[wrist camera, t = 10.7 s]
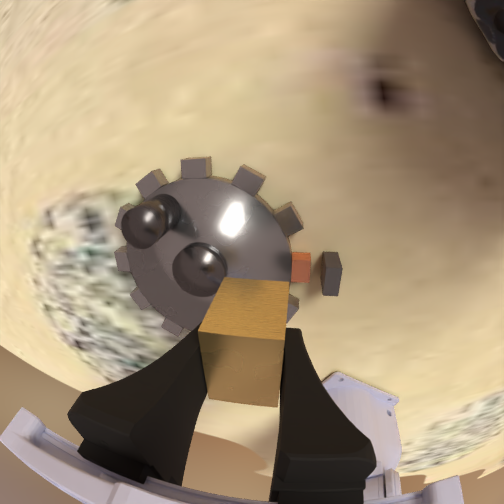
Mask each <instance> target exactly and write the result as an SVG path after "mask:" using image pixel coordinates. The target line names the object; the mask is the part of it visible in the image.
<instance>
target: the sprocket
mask: <svg viewBox="0 0 504 504" xmlns="http://www.w3.org/2000/svg"><path fill="white" fill-rule="evenodd" d="M181 171H182V179H178V180H176V181H174V182H172V183H169V182H168V180H167V179H166V177H165V176H164V174H163V172H162V171H161V169H157V170H154V171H151V172H150V173H149V174H148V175H146V176H145V177H144V178H143V179H141V180H140V181H139V182H138V183H136V184H135V185H136V186H137V188H138V189H139V191H140V193H141V194H142V196H143V197H144V199H145V198H146V199H145V200H144V201H143V203H141V204H139V205H137V206H134V205H132V204H130V203H128V204H126V205H124V206H122V207H120V210H119V213H118V217H117V220H116V223H115V226H116V227H117V228H119V229H121V230H122V233H123V235H124V237H125V239H126V240H127V246H122V247H120V248H119V249H118V250H116V251H115V252H114V253H115V258H116V262H117V267H118V271H128V272H131V273H132V275H133V278H134V280H135V282H136V284H137V286H138V287H136V288H135V289H134V290H133V291H132V293H131V294H130V295H131V297H132V298H133V299H134V301H135V302H136V303H137V304H138V306H139V307H140V308H141V310H142V309H144V308H146V307H148V306H150V305H152V306H153V307H154V308H155V309H156V310H157V311H158V312H159V313H161V314H162V315H163V316H165V317H166V318H165V320H164V322H163V325H162V328H164V329H166V330H168V331H169V332H171V333H173V334H175V335H176V336H179V334H180V332H181V331H182V329H183V328H186V329H189V330H191V331H192V330H193V329H194V328H195V327H197V326H198V325H199V324H200V323H201V322H202V321H203V319H204V317H205V315H206V313H207V311H208V309H209V307H210V305H211V303H212V301H213V299H214V297H215V295H216V293H217V291H218V289H219V287H220V285H221V283H222V281H223V279H224V277H229V278H242V279H256V280H269V281H284V282H289V285H290V281H291V282H305V283H309V280H310V266H311V256H310V253H298V252H291V246H290V241H289V238H288V236H290V235H292V234H294V233H296V232H298V231H300V230H302V229H304V228H303V221H302V220H301V218H300V216H299V214H298V212H297V211H296V209H295V207H294V205H293V204H292V202H289V203H287V204H285V205H283V206H281V207H279V208H277V209H276V210H275V211H274V210H273V209H272V208H271V206H270V205H269V204H268V203H267V202H266V201H265V200H264V199H263V198H261V197H260V196H259V195H258V194H257V192H258V191H259V189H260V187H261V185H262V184H263V182H264V180H265V178H266V176H264V175H262V174H261V173H259V172H257V171H255V170H253V169H252V168H250V167H248V166H246V165H242V166H240V168H239V170H238V172H237V174H236V176H235V177H234V179H233V181H232V180H229V179H226V178H222V177H217V176H211V175H212V164H211V157H196V158H186V159H182V160H181ZM168 183H169V184H168ZM291 272H292V274H291ZM298 309H299V299H298V298H296V297H294V296H292V295H290V294H289V295H288V308H287V320H286V324H287V323H288V321H289V320H290V319H291V318H292V316H293V315H294V314H295V313H296V312H297V310H298Z"/></svg>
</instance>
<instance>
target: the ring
mask: <svg viewBox="0 0 504 504" xmlns="http://www.w3.org/2000/svg"><path fill="white" fill-rule="evenodd" d="M464 1H465V3H466V5H467V7H468V9H469V11H470V14H471V15H472V17H473V19H474V20H475V22H476V23H477V25H478V27H479V28H480V30H481V32H482V33H483V35H484V37H485V38H486V40H487V42H488V44H489V45H490V47H491V49H492V50H493V52H494V53H495V54H496V55H497V57H498V58H499V59H500V60H501V61H503V62H504V0H464Z"/></svg>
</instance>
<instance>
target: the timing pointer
mask: <svg viewBox="0 0 504 504" xmlns="http://www.w3.org/2000/svg"><path fill="white" fill-rule="evenodd" d="M341 275H342V265H341V262H340V258H339V255H338V252H323V260H322V269H321V277H320V278H321V285H322V294H323V295H324V296H338V293H339V287H340V281H341Z"/></svg>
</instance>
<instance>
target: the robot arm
mask: <svg viewBox="0 0 504 504" xmlns="http://www.w3.org/2000/svg"><path fill="white" fill-rule="evenodd" d="M201 323H202V322H201ZM201 323H200V324H199V325H198V326H197V327H195V328H194V329H193V330H192V331H191V332H190V333H189V334H188V335H187V336H186V337H185V338H184V339H182V340H181V341H180V342H179V343H178V344H177V345H175V346H174V347H173V348H172V349H171V350H169V351H168V352H167V353H165V354H164V355H163V356H162V357H160V358H159V359H157V360H156V361H154V362H153V363H151V364H150V365H148V366H147V367H145V368H143V369H142V370H140V371H138V372H136V373H134V374H132V375H130V376H128V377H126V378H124V379H121V380H119V381H117V382H114V383H111V384H109V385H106V386H103V387H100V388H96V389H92V390H89V391H85V392H82V393H81V395H80V396H79V397H78V399H77V400H76V402H75V403H74V405H73V406H72V407H71V409H70V410H69V412H68V414H67V415H68V418H69V420H70V422H71V423H72V425H73V426H74V427H75V428H76V429H77V431H78V432H79V433H80V434H81V436H82V437H83V438H84V440H83V442H82V443H81V445H80V447H79V446H77V445H75V444H74V443H72V442H70V441H68V440H66V439H65V438H63V437H61V436H59V435H58V434H56V433H54V432H53V431H51V430H49V429H48V428H46V426H45V425H44V424H43V422H42V421H41V420H40V419H39V418H38V417H36V416H35V415H34V414H32V413H31V412H29V411H28V410H26V409H25V408H23V407H22V408H21V409H20V410H19V412H18V413H17V414H16V415H15V417H14V418H13V420H12V421H11V422H10V424H9V425H8V426H7V428H6V429H5V431H4V432H3V433H2V435H1V436H0V441H1V442H2V443H3V444H4V445H5V446H6V447H7V448H8V449H9V450H10V451H12V453H14V454H15V455H16V456H17V457H18V458H19V459H20V460H21V461H23V462H24V463H25V464H26V465H28V466H29V467H30V468H31V469H33V470H34V471H35V472H37V473H38V474H39V475H41V476H42V477H43V478H45V479H46V480H48V481H49V482H51V483H52V484H53V485H55V486H56V487H58V488H59V489H61V490H62V491H64V492H65V493H67V494H69V495H71V496H72V497H74V498H75V499H77V500H79V501H80V502H82V503H84V504H464V500H463V495H462V489H461V484H460V479H459V476H458V475H456V476H453V477H450V478H446V479H443V480H439V481H436V482H434V483H431V484H429V485H428V486H426V487H425V488H424V489H423V490H421V491H417V492H412V493H408V494H403V495H402V493H401V485H400V477H399V472H397V471H394V470H395V469H396V467H397V465H398V463H399V461H400V458H401V453H402V446H401V440H400V435H399V430H398V425H397V420H396V415H395V410H394V405H396V404H397V403H398V402H399V398H398V397H396V396H394V395H391V394H389V393H387V392H384V391H382V390H379V389H377V388H375V387H372V386H370V385H368V384H365V383H363V382H361V381H358V380H356V379H354V378H352V377H349V376H347V375H345V374H343V373H341V372H335V373H333V374H332V375H330V376H329V377H328V378H327V379H326V380H324V381H323V382H321V380H320V379H319V377H318V375H317V373H316V371H315V369H314V367H313V365H312V362H311V360H310V358H309V355H308V353H307V350H306V347H305V344H304V341H303V337H302V332H301V330H300V329H297V328H286V331H285V342H284V353H283V363H282V372H281V381H280V423H279V434H278V442H277V449H276V457H275V464H274V471H273V477H272V484H271V490H270V496H269V502H266V501H256V500H248V499H240V498H234V497H228V496H222V495H217V494H212V493H207V492H202V491H198V490H194V489H190V488H186V487H182V481H183V475H184V470H185V465H186V461H187V456H188V452H189V448H190V444H191V440H192V436H193V432H194V428H195V425H196V421H197V418H198V415H199V412H200V409H201V407H202V404H203V402H204V399H205V397H206V395H207V392H208V391H207V386H206V380H205V374H204V368H203V362H202V356H201V350H200V343H199V336H198V329H199V327H200V325H201ZM340 378H341V379H340Z"/></svg>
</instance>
